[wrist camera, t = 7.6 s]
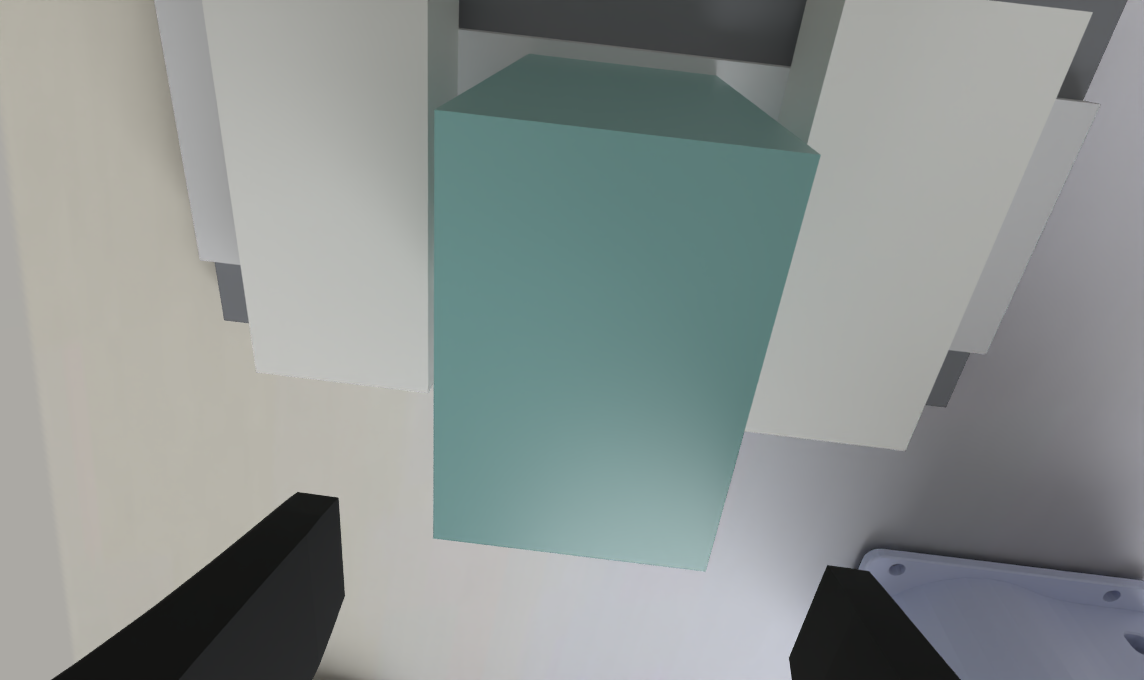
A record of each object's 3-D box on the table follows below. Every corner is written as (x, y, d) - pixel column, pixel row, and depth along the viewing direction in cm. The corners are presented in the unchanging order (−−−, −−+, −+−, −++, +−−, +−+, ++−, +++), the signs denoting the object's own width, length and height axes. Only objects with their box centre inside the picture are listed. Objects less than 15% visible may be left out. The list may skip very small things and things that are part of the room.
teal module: (716, 75, 14) (820, 154, 7) (668, 327, 17) (705, 571, 9) (529, 53, 14) (434, 109, 7) (512, 308, 17) (433, 538, 10)
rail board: (1096, -4, 14) (1263, -6, 10) (930, 387, 19) (1005, 481, 15) (181, -109, 14) (30, -147, 11) (242, 305, 19) (153, 378, 15)
